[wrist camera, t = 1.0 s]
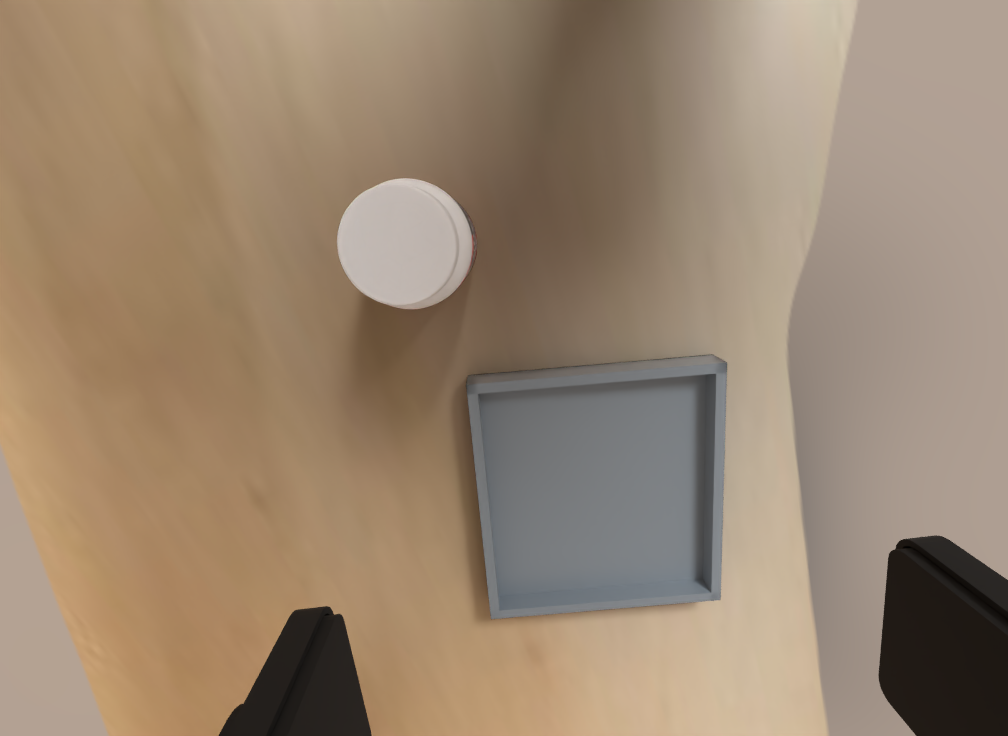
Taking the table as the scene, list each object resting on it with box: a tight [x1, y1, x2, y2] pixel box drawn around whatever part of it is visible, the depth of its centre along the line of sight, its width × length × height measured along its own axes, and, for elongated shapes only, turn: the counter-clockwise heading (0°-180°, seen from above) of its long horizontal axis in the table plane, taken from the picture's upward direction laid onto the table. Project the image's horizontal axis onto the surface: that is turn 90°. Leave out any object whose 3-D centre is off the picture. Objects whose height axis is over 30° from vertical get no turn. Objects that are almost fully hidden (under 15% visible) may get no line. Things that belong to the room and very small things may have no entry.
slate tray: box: [466, 355, 727, 619], centre depth 33 cm, size 16×15×2 cm
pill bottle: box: [337, 178, 477, 309], centre depth 25 cm, size 6×6×10 cm
